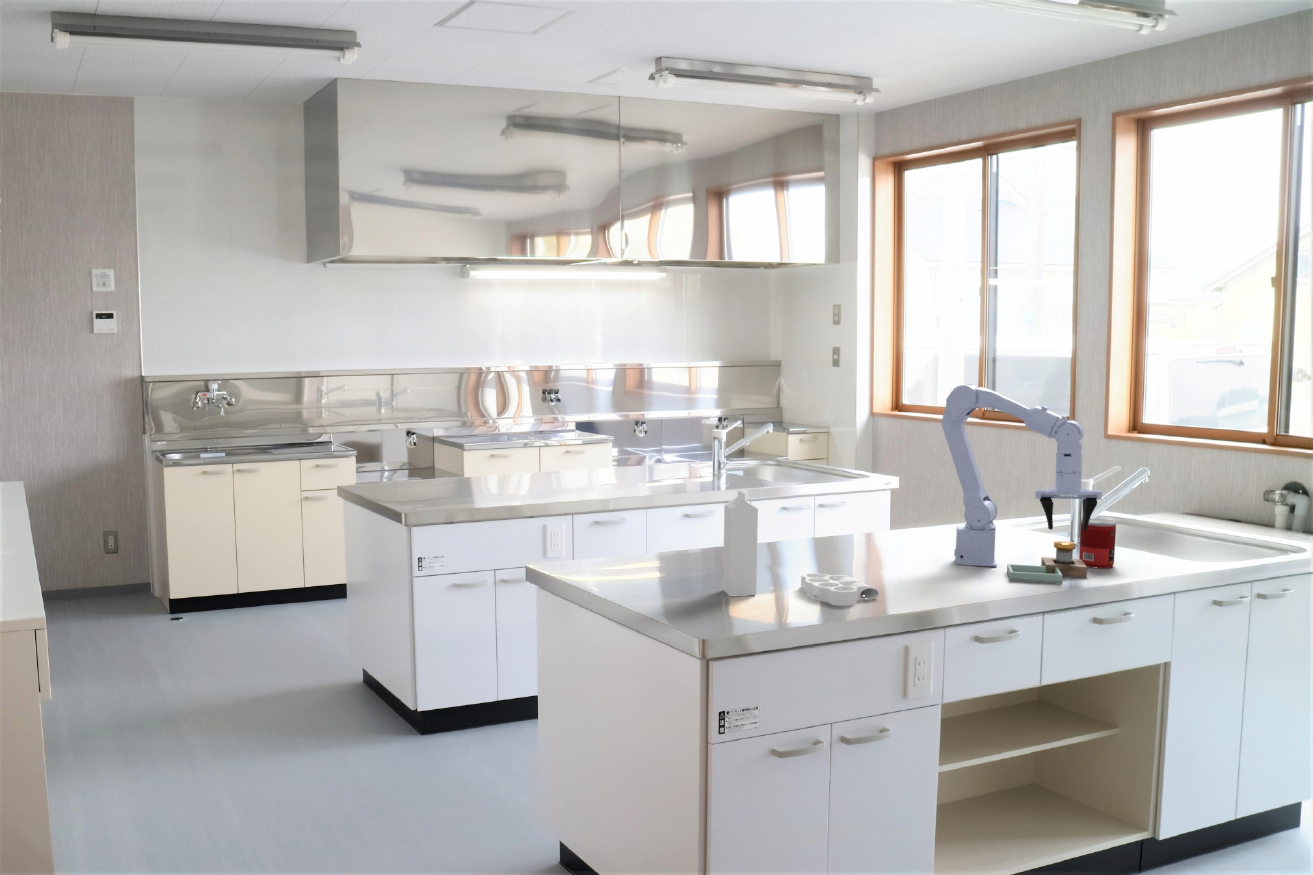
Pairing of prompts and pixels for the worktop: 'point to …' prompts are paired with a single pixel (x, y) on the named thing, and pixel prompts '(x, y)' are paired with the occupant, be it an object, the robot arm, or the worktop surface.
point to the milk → (740, 547)
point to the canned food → (1098, 543)
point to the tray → (1033, 574)
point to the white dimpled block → (836, 589)
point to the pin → (1064, 552)
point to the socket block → (1066, 567)
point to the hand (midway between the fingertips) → (1067, 529)
